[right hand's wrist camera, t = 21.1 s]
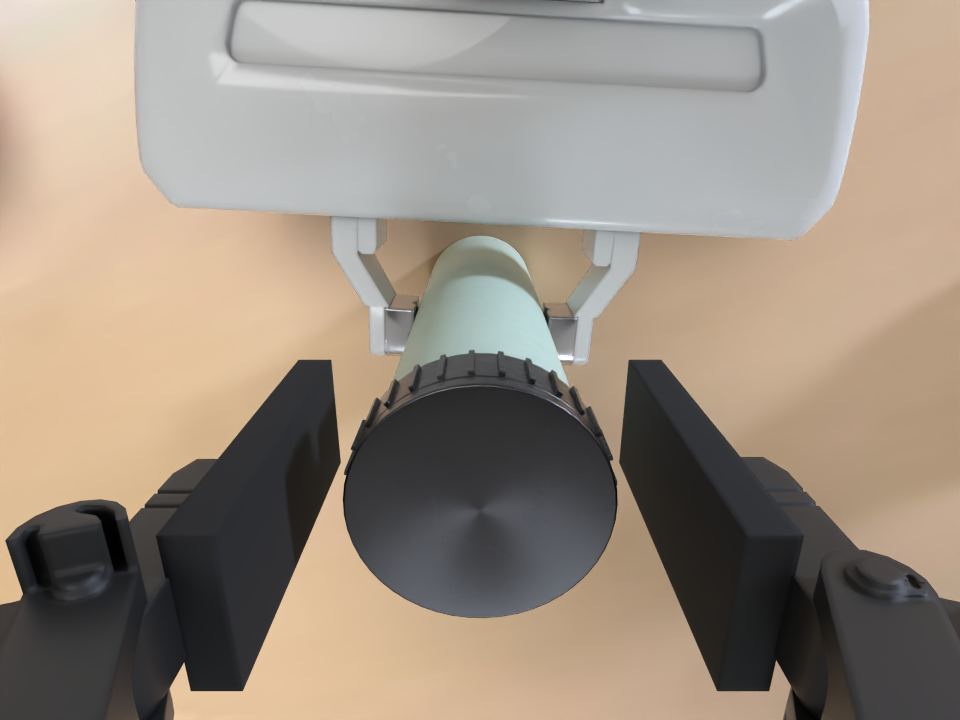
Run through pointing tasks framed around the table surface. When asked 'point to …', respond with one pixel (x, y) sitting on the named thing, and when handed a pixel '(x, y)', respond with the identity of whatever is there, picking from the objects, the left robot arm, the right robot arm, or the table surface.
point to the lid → (480, 486)
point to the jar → (480, 309)
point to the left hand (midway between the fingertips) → (479, 355)
